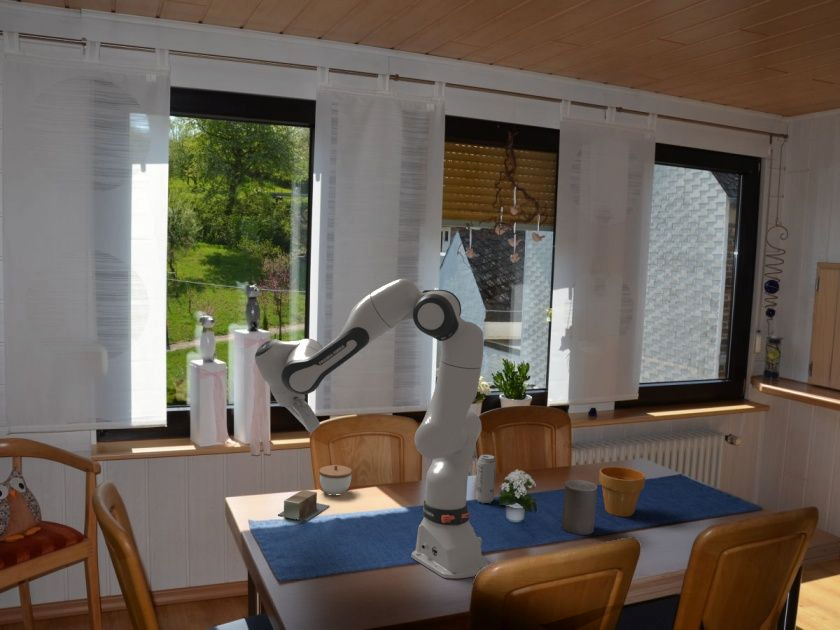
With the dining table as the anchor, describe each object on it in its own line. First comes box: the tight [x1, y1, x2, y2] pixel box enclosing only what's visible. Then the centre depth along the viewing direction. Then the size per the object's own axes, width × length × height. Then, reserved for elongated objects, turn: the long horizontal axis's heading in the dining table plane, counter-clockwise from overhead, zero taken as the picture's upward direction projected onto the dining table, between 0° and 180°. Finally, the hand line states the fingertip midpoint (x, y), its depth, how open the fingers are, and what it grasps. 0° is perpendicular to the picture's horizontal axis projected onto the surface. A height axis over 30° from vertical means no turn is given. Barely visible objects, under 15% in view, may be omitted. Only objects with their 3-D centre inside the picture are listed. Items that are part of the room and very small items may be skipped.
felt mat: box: [277, 502, 330, 522], centre depth 227 cm, size 14×10×1 cm
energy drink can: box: [475, 454, 497, 504], centre depth 243 cm, size 6×6×15 cm
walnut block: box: [283, 489, 318, 521], centre depth 225 cm, size 5×5×11 cm
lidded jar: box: [318, 464, 353, 496], centre depth 245 cm, size 11×11×9 cm
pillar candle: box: [561, 479, 598, 536], centre depth 223 cm, size 10×10×15 cm
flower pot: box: [598, 466, 646, 518], centre depth 238 cm, size 14×14×13 cm
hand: (311, 430), depth 214 cm, fingers closed
